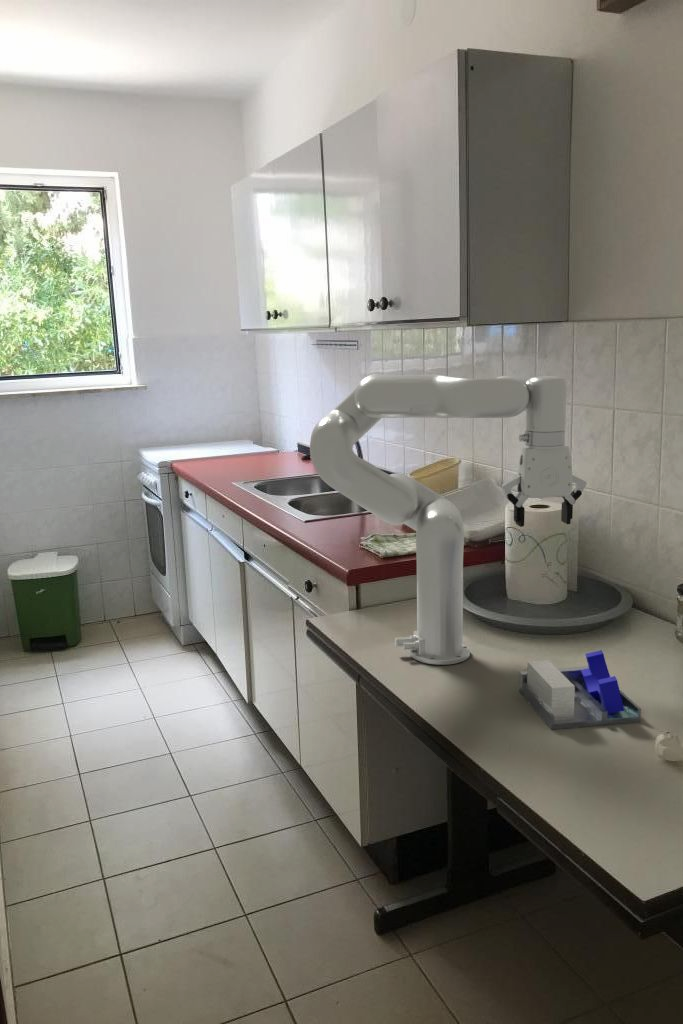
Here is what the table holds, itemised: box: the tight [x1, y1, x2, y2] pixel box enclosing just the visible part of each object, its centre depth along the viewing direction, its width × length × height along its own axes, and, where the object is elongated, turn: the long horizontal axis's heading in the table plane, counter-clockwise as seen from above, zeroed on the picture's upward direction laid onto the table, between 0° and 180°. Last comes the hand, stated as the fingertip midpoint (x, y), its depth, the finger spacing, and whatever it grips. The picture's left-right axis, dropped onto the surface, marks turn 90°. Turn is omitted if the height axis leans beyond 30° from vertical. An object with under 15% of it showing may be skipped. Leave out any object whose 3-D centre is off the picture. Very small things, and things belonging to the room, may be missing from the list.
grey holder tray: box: [518, 659, 642, 731], centre depth 150 cm, size 16×16×7 cm
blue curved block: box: [581, 649, 624, 714], centre depth 150 cm, size 12×4×6 cm, turn 176°
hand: (542, 524), depth 169 cm, fingers open, 9 cm apart
